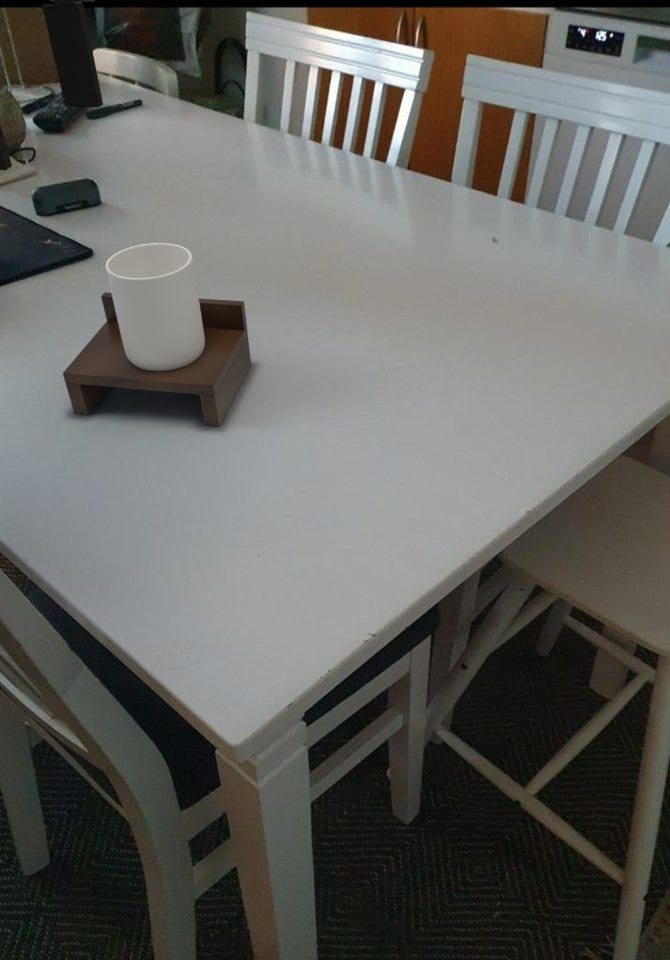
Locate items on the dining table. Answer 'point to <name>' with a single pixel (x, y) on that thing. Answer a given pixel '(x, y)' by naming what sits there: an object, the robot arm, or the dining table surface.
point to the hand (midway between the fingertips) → (41, 134)
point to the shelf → (206, 376)
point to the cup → (157, 305)
